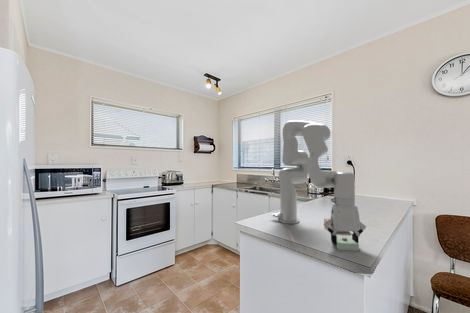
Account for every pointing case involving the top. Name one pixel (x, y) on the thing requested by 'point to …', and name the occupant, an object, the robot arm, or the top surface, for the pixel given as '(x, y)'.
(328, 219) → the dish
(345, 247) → the green block with hole
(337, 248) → the mat
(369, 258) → the top surface
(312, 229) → the top surface
